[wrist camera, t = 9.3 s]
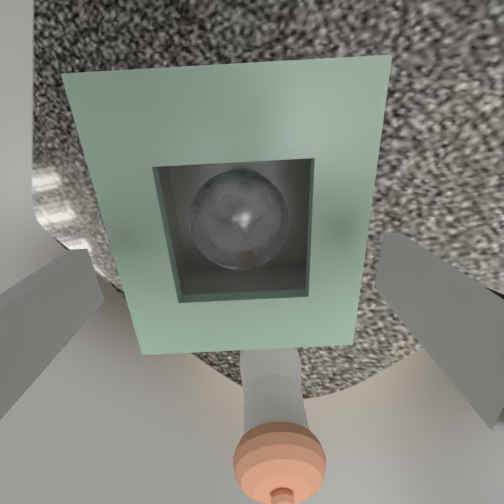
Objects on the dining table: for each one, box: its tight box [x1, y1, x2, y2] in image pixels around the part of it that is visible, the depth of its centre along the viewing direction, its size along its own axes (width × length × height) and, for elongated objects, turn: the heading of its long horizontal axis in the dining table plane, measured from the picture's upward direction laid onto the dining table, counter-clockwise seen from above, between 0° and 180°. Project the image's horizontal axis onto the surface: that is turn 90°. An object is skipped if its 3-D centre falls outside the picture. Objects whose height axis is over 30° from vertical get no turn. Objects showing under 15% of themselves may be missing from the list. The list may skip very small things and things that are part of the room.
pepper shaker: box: [233, 347, 326, 504], centre depth 26 cm, size 7×7×19 cm
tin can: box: [189, 168, 290, 270], centre depth 21 cm, size 6×6×12 cm
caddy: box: [61, 55, 392, 355], centre depth 22 cm, size 18×16×13 cm
